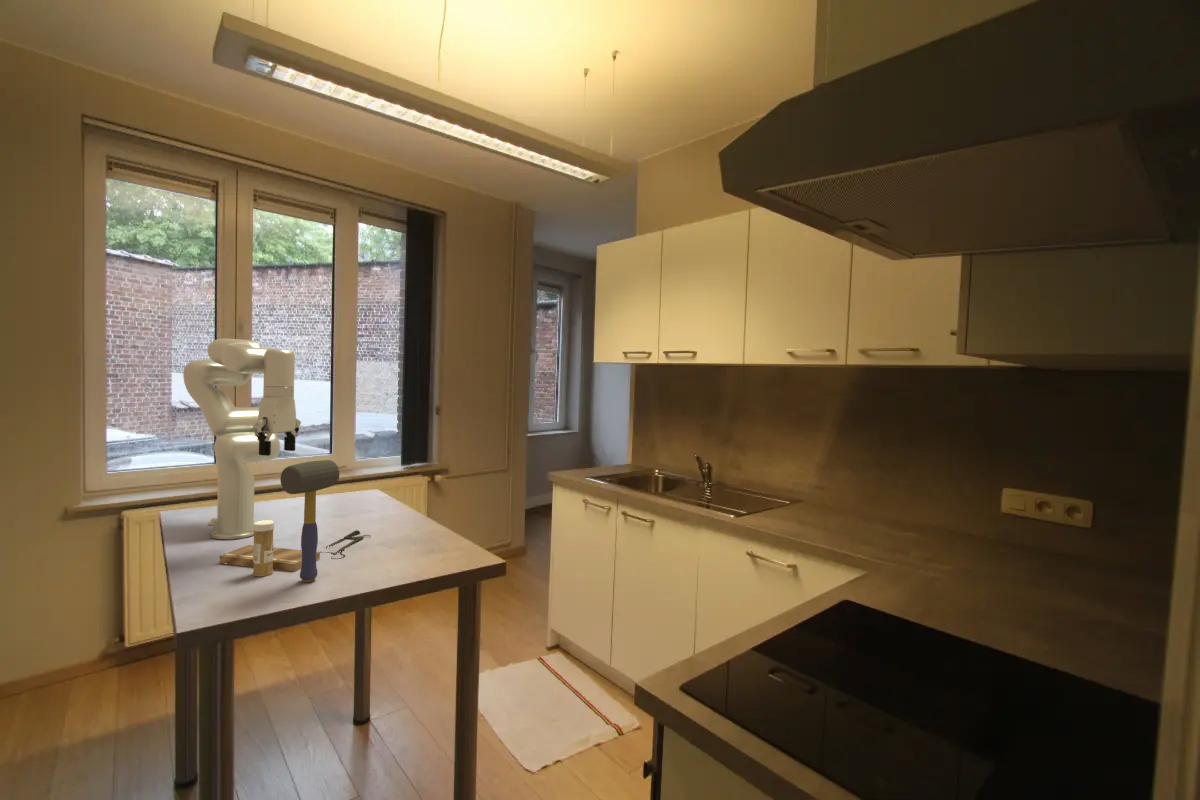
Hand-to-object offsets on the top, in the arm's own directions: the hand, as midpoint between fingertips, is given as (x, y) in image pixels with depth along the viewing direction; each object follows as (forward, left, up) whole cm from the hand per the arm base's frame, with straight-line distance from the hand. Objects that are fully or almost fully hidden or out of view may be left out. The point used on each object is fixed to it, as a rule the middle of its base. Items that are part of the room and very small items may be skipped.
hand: (277, 452), depth 158 cm
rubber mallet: (+23, -18, -28) cm, 41 cm away
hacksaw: (+16, +10, -29) cm, 35 cm away
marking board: (+5, -8, -28) cm, 30 cm away
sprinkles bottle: (+10, -16, -28) cm, 34 cm away
